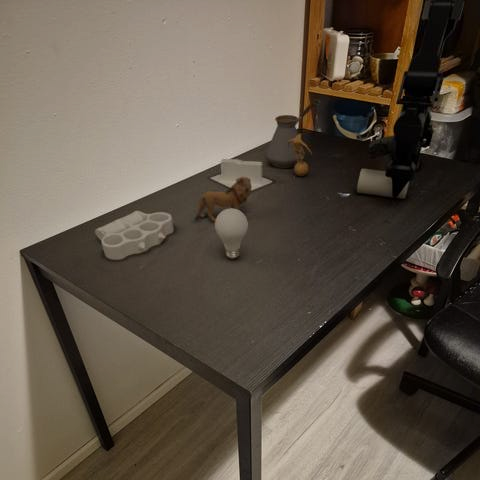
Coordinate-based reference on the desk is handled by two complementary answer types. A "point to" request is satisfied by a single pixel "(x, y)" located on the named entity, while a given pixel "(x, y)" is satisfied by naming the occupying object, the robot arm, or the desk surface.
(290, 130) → the coffee pot
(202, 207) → the lion figurine
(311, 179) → the desk surface
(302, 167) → the figurine
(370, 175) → the paper towel roll
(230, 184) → the napkin holder
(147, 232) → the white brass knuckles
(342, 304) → the desk surface
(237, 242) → the light bulb
